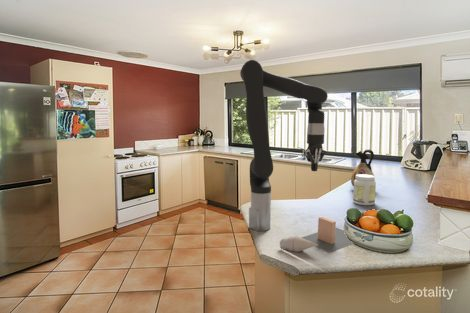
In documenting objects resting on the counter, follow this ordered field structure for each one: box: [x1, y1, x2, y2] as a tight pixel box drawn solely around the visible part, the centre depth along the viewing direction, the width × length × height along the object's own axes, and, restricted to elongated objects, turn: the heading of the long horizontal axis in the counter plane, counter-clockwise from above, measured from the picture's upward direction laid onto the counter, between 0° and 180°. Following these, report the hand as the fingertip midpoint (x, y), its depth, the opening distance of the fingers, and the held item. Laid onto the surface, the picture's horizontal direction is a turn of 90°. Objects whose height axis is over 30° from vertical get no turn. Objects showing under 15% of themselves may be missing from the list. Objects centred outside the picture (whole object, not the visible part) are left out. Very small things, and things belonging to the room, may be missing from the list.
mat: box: [300, 227, 355, 254], centre depth 123 cm, size 24×16×1 cm, turn 124°
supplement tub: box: [352, 174, 377, 206], centre depth 177 cm, size 12×12×17 cm
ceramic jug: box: [350, 149, 376, 187], centre depth 206 cm, size 17×15×30 cm
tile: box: [317, 216, 337, 244], centre depth 120 cm, size 2×7×9 cm, turn 34°
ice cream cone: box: [279, 235, 318, 253], centre depth 111 cm, size 6×6×15 cm
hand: (314, 171), depth 135 cm, fingers closed
